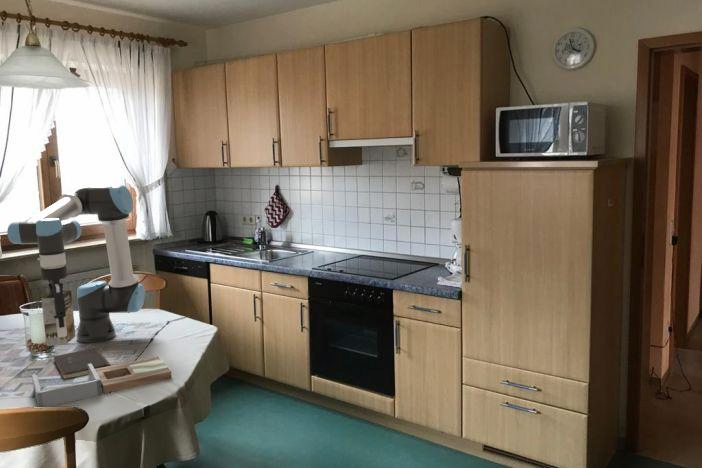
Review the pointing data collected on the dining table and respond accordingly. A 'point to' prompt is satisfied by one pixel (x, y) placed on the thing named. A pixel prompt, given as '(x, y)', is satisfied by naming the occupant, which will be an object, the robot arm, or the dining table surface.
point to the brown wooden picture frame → (133, 374)
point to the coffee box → (50, 322)
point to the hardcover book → (80, 362)
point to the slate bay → (68, 390)
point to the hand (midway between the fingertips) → (60, 332)
